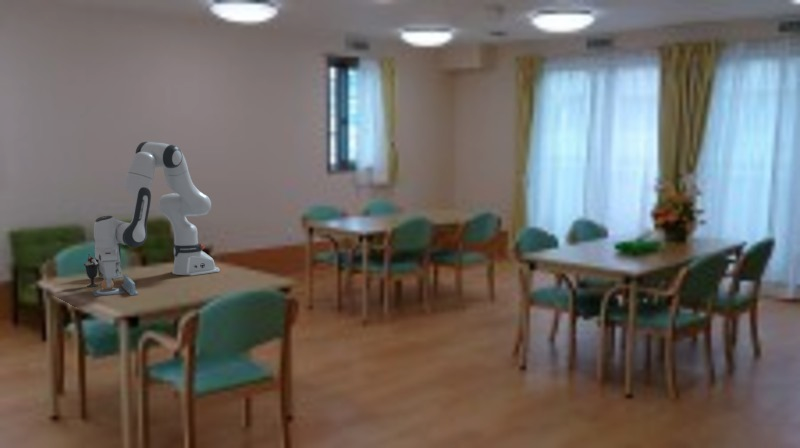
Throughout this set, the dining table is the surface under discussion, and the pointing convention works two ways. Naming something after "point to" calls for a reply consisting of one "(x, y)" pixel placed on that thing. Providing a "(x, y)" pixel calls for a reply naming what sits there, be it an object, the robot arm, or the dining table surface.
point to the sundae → (92, 270)
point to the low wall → (129, 285)
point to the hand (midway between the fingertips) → (107, 285)
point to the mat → (107, 292)
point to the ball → (106, 286)
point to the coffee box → (118, 265)
